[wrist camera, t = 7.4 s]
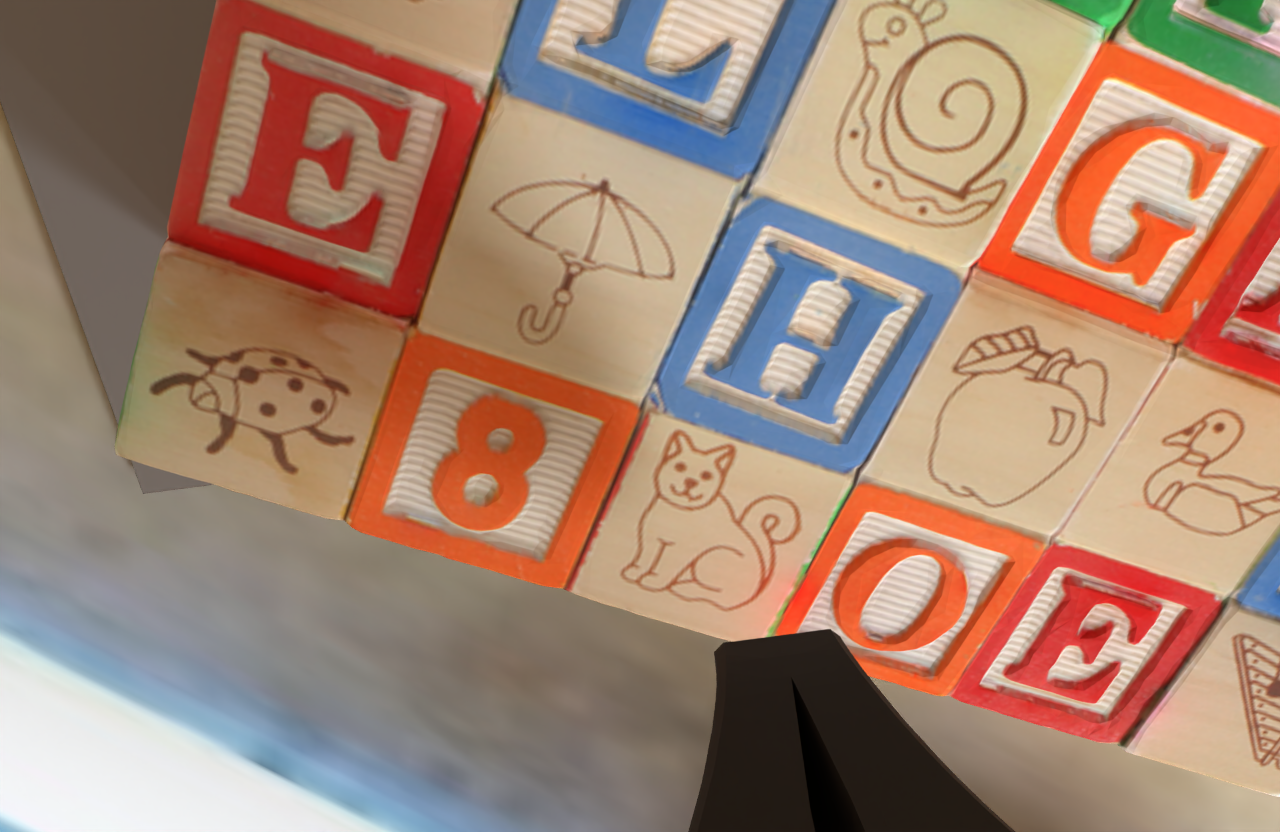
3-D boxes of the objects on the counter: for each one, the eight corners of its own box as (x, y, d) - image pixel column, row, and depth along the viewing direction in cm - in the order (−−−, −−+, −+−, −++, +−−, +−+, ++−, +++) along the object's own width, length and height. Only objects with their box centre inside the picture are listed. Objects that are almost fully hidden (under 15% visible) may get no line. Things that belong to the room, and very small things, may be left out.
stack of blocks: (1232, 623, 25) (1657, 69, 20) (1427, 857, 19) (2082, 169, 14) (219, 279, 20) (447, -563, 15) (90, 458, 14) (382, -781, 10)
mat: (1251, 337, 22) (1262, 346, 22) (149, 482, 22) (142, 494, 22) (1356, -432, 17) (1373, -437, 16) (-110, -241, 17) (-125, -242, 16)
